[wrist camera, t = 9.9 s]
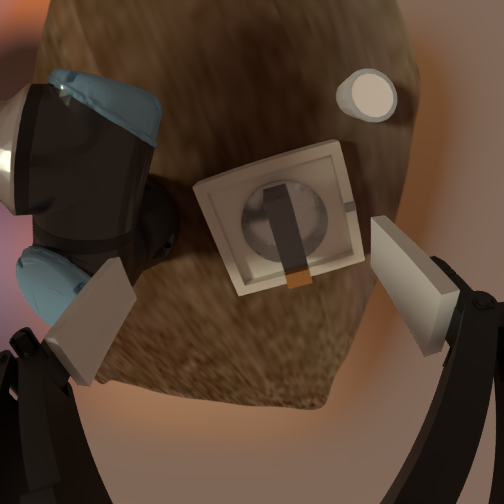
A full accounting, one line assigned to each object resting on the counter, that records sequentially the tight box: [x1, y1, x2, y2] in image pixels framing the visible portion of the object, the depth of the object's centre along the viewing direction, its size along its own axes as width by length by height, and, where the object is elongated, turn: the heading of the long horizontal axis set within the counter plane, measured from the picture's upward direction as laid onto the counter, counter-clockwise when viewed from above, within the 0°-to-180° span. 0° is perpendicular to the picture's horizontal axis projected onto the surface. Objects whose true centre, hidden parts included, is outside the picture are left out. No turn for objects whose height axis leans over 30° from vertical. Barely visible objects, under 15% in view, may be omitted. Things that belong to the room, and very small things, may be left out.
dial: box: [241, 180, 328, 289], centre depth 36 cm, size 12×12×8 cm
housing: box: [192, 139, 365, 296], centre depth 40 cm, size 20×18×4 cm
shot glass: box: [336, 68, 397, 122], centre depth 30 cm, size 7×7×7 cm
